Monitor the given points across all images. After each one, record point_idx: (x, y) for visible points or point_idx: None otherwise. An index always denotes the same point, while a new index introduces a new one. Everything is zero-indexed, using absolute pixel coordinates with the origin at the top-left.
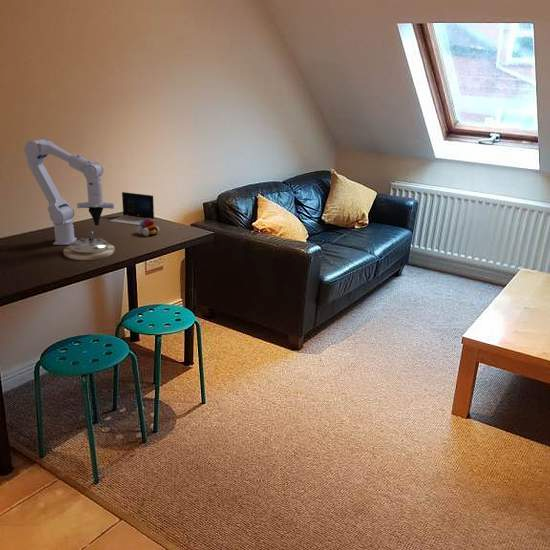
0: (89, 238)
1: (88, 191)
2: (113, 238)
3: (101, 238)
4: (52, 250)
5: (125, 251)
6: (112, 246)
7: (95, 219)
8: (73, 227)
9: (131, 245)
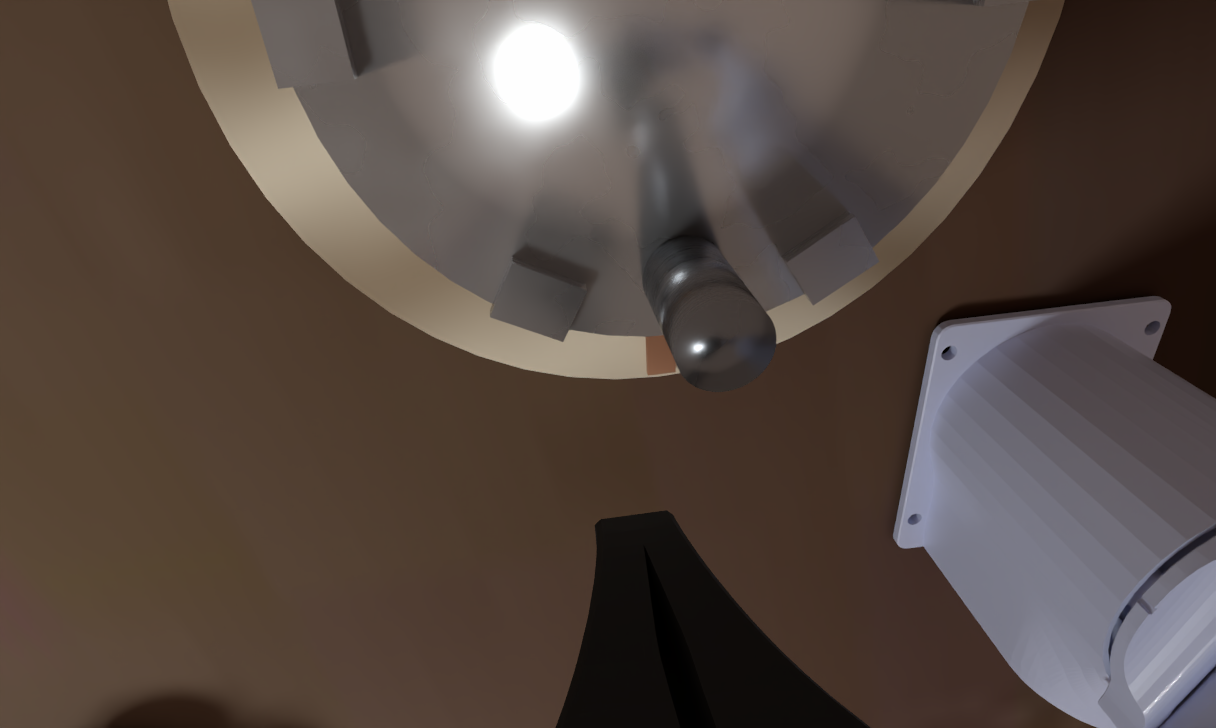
0: (714, 249)
1: None
2: (485, 617)
3: (511, 321)
4: (1194, 49)
5: (32, 103)
6: (285, 183)
7: (678, 613)
8: (1000, 639)
9: (115, 416)
